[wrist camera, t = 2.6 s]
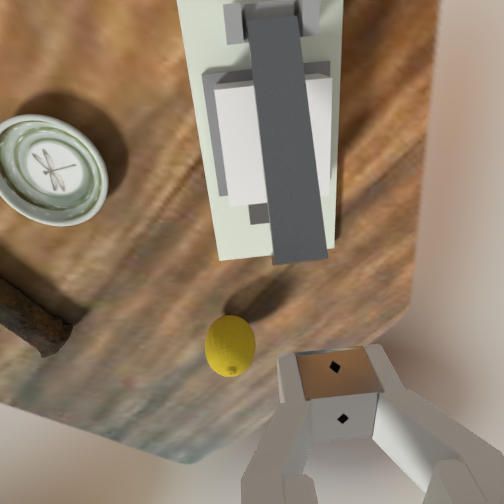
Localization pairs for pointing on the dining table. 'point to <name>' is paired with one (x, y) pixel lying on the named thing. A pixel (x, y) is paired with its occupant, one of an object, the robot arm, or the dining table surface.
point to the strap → (286, 141)
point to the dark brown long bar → (31, 321)
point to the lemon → (230, 346)
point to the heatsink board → (239, 56)
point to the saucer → (50, 170)
